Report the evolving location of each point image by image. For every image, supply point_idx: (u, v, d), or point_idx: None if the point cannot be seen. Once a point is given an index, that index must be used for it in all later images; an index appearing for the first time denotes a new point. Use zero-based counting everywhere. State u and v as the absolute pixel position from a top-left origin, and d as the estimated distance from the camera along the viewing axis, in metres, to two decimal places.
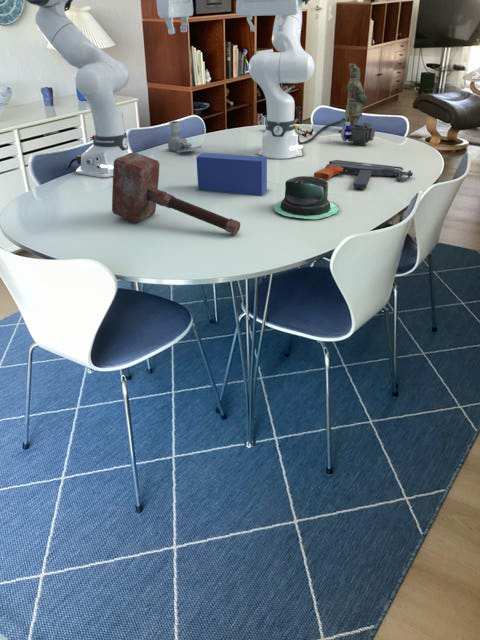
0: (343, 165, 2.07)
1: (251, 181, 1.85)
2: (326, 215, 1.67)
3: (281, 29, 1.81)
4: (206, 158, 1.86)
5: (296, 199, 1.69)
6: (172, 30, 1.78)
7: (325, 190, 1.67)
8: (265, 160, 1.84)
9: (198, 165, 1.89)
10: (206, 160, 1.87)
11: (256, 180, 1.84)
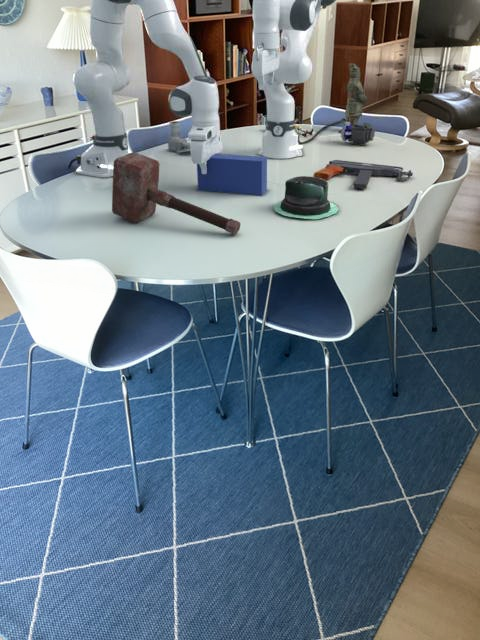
0: (343, 165, 2.07)
1: (251, 181, 1.85)
2: (326, 215, 1.67)
3: None
4: None
5: (296, 199, 1.69)
6: (205, 171, 1.87)
7: (325, 190, 1.67)
8: (265, 160, 1.85)
9: (198, 165, 1.89)
10: None
11: (256, 179, 1.84)
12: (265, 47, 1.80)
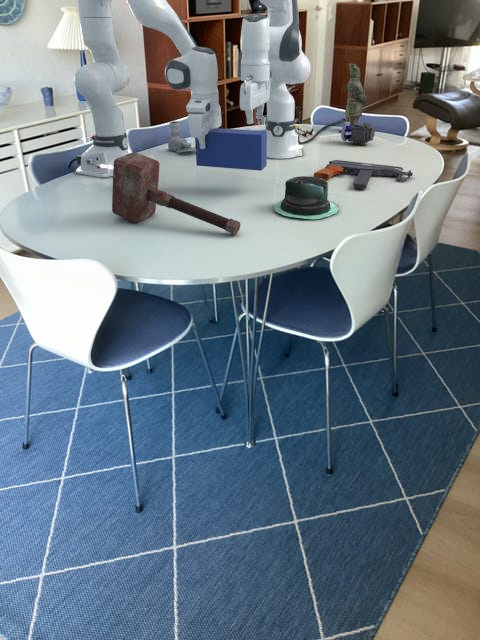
0: (343, 165, 2.07)
1: (250, 156, 1.81)
2: (326, 215, 1.67)
3: None
4: None
5: (296, 199, 1.69)
6: (203, 145, 1.83)
7: (325, 190, 1.67)
8: (265, 134, 1.80)
9: (196, 140, 1.84)
10: None
11: (255, 154, 1.80)
12: (254, 80, 1.68)
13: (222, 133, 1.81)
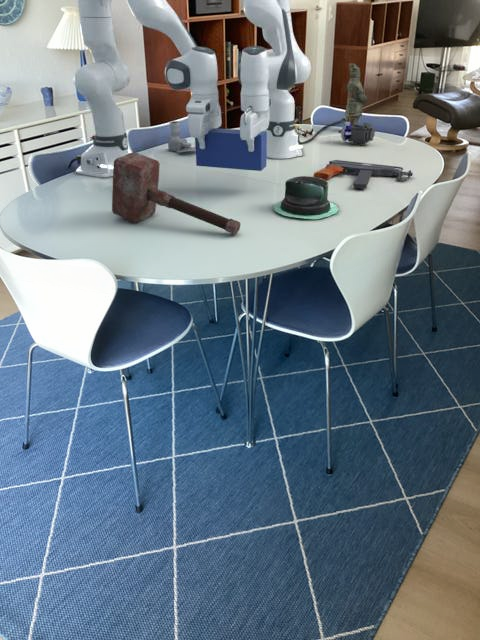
0: (343, 165, 2.07)
1: (250, 156, 1.81)
2: (326, 215, 1.67)
3: None
4: None
5: (296, 199, 1.69)
6: (203, 145, 1.83)
7: (325, 190, 1.67)
8: (265, 135, 1.80)
9: (196, 140, 1.84)
10: None
11: (255, 154, 1.80)
12: (254, 110, 1.72)
13: (222, 133, 1.81)
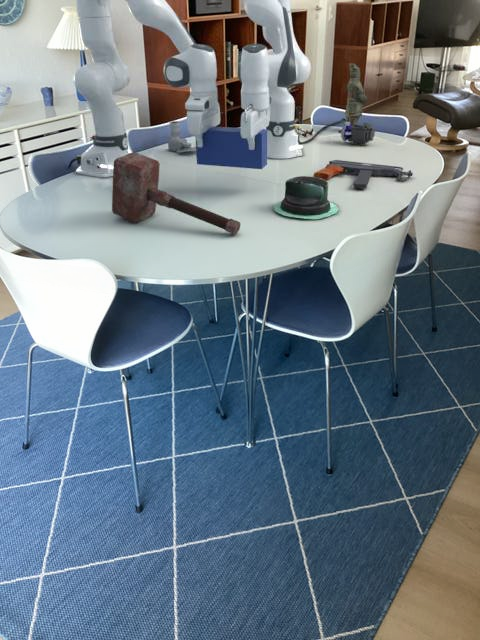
0: (343, 165, 2.07)
1: (251, 154, 1.81)
2: (326, 215, 1.67)
3: None
4: None
5: (296, 199, 1.69)
6: (201, 144, 1.82)
7: (325, 190, 1.67)
8: (265, 133, 1.80)
9: None
10: (205, 132, 1.82)
11: (256, 153, 1.80)
12: (254, 108, 1.72)
13: (222, 132, 1.80)
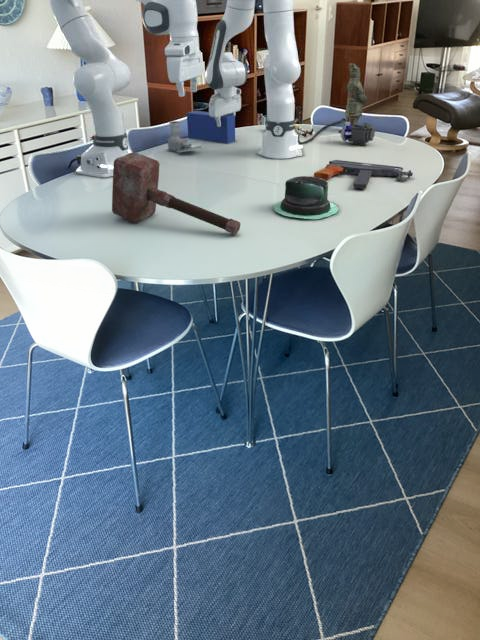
0: (343, 165, 2.07)
1: (221, 132, 2.52)
2: (326, 215, 1.67)
3: None
4: (192, 114, 2.56)
5: (296, 199, 1.69)
6: (182, 93, 1.76)
7: (325, 190, 1.67)
8: (232, 117, 2.50)
9: (188, 119, 2.59)
10: (193, 115, 2.57)
11: (223, 131, 2.51)
12: (220, 96, 2.42)
13: (203, 115, 2.53)
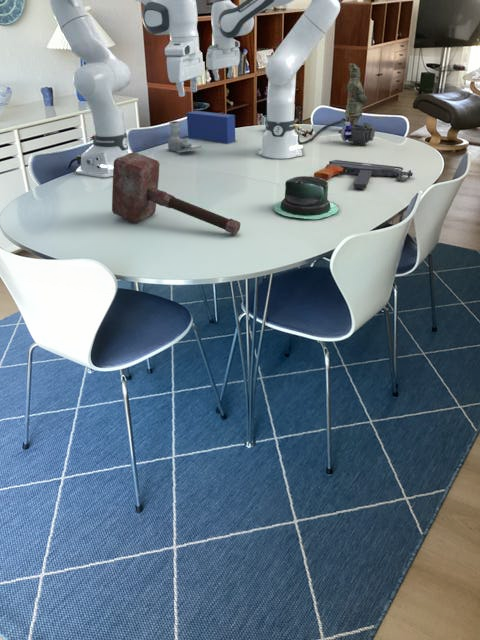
0: (343, 165, 2.07)
1: (221, 132, 2.52)
2: (326, 215, 1.67)
3: None
4: (192, 114, 2.56)
5: (296, 199, 1.69)
6: (182, 93, 1.76)
7: (325, 190, 1.67)
8: (232, 117, 2.50)
9: (188, 119, 2.59)
10: (193, 115, 2.57)
11: (223, 131, 2.51)
12: (218, 47, 2.33)
13: (203, 115, 2.53)
